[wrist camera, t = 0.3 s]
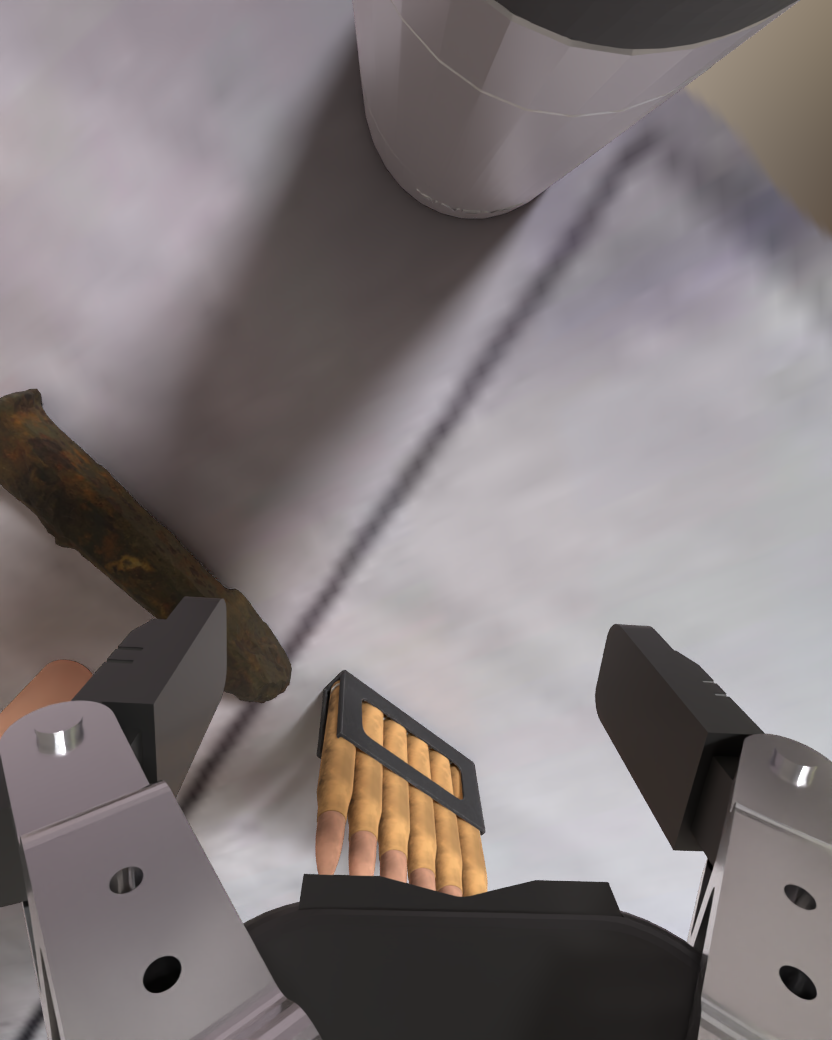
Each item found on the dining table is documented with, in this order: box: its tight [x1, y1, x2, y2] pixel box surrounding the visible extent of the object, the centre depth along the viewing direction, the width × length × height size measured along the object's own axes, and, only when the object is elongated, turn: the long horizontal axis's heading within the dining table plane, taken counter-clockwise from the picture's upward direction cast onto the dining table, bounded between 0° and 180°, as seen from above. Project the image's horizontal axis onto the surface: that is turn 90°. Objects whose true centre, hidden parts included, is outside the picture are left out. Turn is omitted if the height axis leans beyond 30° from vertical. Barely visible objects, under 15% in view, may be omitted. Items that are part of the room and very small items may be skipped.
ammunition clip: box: [316, 670, 487, 897], centre depth 29 cm, size 11×2×12 cm, turn 47°
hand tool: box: [0, 389, 292, 703], centre depth 28 cm, size 19×4×5 cm, turn 37°
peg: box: [0, 660, 93, 739], centre depth 27 cm, size 3×3×10 cm
